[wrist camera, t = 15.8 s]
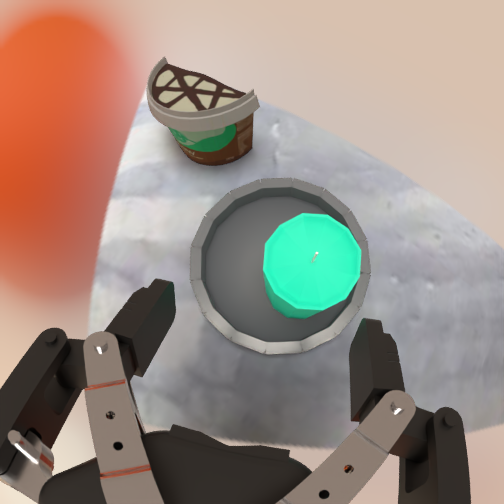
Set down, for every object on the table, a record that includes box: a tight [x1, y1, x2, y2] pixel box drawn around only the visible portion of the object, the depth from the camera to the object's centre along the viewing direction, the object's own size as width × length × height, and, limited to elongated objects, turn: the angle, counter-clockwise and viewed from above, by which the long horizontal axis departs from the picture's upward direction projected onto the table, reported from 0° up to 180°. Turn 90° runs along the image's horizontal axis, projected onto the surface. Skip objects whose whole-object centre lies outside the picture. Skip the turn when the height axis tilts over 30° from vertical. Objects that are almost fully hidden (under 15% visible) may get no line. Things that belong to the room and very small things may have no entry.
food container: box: [147, 57, 260, 166], centre depth 29 cm, size 12×6×10 cm, turn 54°
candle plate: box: [190, 178, 371, 354], centre depth 28 cm, size 16×16×3 cm
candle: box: [263, 213, 361, 319], centre depth 22 cm, size 6×6×12 cm
